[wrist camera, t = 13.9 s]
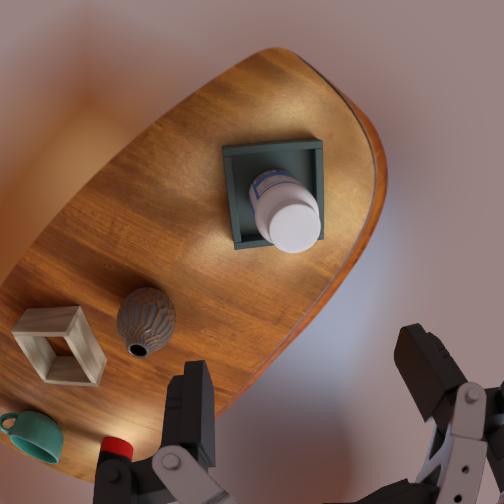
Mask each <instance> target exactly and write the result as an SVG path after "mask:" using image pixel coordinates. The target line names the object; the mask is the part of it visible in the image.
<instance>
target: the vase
mask: <svg viewBox="0 0 504 504" xmlns="http://www.w3.org/2000/svg"><path fill="white" fill-rule="evenodd" d="M175 324H176V314H175V309H174V306H173V304H172V302H171V300H170V299H169V297H168V296H167V295H166V294H164V293H163V292H162V291H160V290H158V289H155V288H150V287H143V288H139V289H136V290H134V291H132V292H131V293H130V294H129V295H127V297H126V298H125V299H124V300H123V302H122V304H121V306H120V308H119V311H118V315H117V328H118V332H119V335H120V337H121V339H122V340H123V342H124V343H125V345H126V347H127V351H128V353H129V354H130V355H131V356H133V357H135V358H139V359H143V358H146V357H147V356H148V355H149V354H150V353H153V352H155V351H158V350H160V349H161V348H163V347H164V346H165V345H166V344H167V343H168V341H169V340H170V339H171V337H172V335H173V332H174V329H175Z"/></svg>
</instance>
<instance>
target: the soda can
mask: <svg viewBox="0 0 504 504" xmlns="http://www.w3.org/2000/svg"><path fill="white" fill-rule="evenodd" d="M132 455H133V447H132V446H131V445H130V444H129V443H128V442H126V441H124V440H121V439H118V438H113V437H107V438H104V439H103V440H102V443H101V448H100V453H99V458H98V463H97V468H98V467H99V466H100V464H102V463H103V462H104V461H107V460H110V459H117V460H121V461H123V462H124V463H126V464H128V463H131V462H132ZM97 468H96V471H97ZM95 476H96V473H95Z"/></svg>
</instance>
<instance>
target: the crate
mask: <svg viewBox="0 0 504 504" xmlns="http://www.w3.org/2000/svg"><path fill="white" fill-rule="evenodd" d="M11 333H12V334H13V336H14V338H15V339H16V341H17V343H18V344H19V346H20V347H21V349H22V351H23V352H24V354H25V355H26V357H27V358H28V360H29V361H30V363H31V364H32V366H33V367H34V369H35V370H36V371H37V373H38V374H39V376H40V377H41V378H42V380H43V381H44V383H53V384H65V385H79V386H99V383H100V380H101V377H102V373H103V370H104V367H105V364H106V361H107V359H106V357H105V355H104V353H103V351H102V350H101V348H100V346H99V344H98V342H97V340H96V338H95V336H94V334H93V332H92V330H91V328H90V326H89V324H88V322H87V320H86V318H85V315H84V313H83V311H82V309H81V307H80V306H67V307H50V308H32V309H26V311H25V312H24V313H23V315H22V316H21V318H20V319H19V321H18V322H17V324H16V325H15V327H14V328H13V330H12V331H11ZM45 336H64V338H65V340H66V342H67V343H68V345H69V347H70V349H71V350H72V352H73V354H74V355H75V356H56V354H55V352H54V351H53V349H52V347H51V346H50V344H49V342H48V341H47V339H46V337H45Z"/></svg>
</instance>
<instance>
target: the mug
mask: <svg viewBox="0 0 504 504" xmlns="http://www.w3.org/2000/svg"><path fill="white" fill-rule="evenodd" d="M10 418H15V419H16V420H15V423H14V425H13V427H10V428H9V429H6V428H4V427H3V425H2V423H3V422H4V421H5V420H6V419H10ZM0 430H1V431H2V432H4V433H6V434H10V440H11V441H12V442H13V443H14V444H15V445H16V446H17V447H18V448H19V449H21V450H22V451H24V452H25V453H27V454H28V455H30V456H32V457H34V458H36V459H38V460H41V461H43V462H46V463H50V464H57V463H58V461H59V458H60V454H61V451H62V446H63V434H62V432H61V430H60V428H59V427H58V426H57V425H56V423H55V422H54V421H53V420H52V419H51V418H49V417H48V416H46V415H44V414H42V413H40V412H36V411H23V412H21V413H6V414H4V415H2V416H1V417H0Z"/></svg>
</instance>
